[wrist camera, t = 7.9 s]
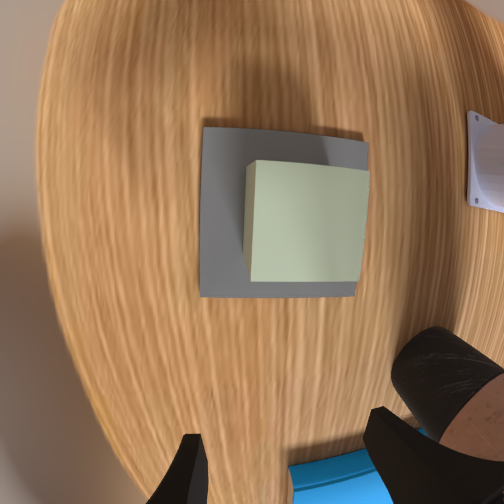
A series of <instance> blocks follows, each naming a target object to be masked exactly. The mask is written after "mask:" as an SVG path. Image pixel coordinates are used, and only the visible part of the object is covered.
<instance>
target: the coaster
mask: <svg viewBox="0 0 504 504" xmlns="http://www.w3.org/2000/svg"><path fill="white" fill-rule="evenodd" d="M255 160H267V161H282V162H294V163H305V164H316V165H325V166H334V167H342V168H350V169H358V170H365V171H368V142H362V141H356V140H350V139H344V138H337V137H330V136H323V135H315V134H307V133H298V132H288V131H277V130H264V129H248V128H224V127H204V129H203V147H202V169H201V198H200V297H219V298H310V297H349V296H355V289H356V283H357V281H345V282H251V281H250V277H249V274H248V270H247V267H246V263H245V259H244V256H243V236H244V212H245V189H246V167H247V166H248V165H250V164H251V163H252V162H254V161H255Z"/></svg>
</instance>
